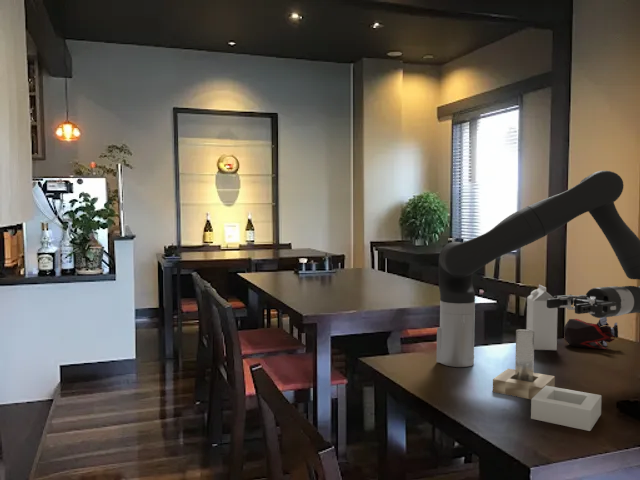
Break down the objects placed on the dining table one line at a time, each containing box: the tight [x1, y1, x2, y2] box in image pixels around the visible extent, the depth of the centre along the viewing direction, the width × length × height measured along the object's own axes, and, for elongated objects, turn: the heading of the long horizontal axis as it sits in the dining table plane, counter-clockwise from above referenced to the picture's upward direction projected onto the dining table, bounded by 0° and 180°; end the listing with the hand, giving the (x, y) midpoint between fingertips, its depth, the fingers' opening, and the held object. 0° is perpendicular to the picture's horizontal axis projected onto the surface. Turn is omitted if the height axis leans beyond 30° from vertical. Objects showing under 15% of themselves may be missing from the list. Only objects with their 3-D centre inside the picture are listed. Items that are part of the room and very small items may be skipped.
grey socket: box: [530, 386, 602, 432], centre depth 116 cm, size 11×11×4 cm
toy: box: [563, 317, 619, 351], centre depth 175 cm, size 12×9×15 cm
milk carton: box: [526, 284, 559, 351], centre depth 173 cm, size 7×7×19 cm
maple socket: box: [492, 368, 556, 400], centre depth 133 cm, size 11×11×3 cm
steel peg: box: [514, 328, 535, 382], centre depth 132 cm, size 4×4×14 cm
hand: (561, 306), depth 136 cm, fingers open, 8 cm apart
